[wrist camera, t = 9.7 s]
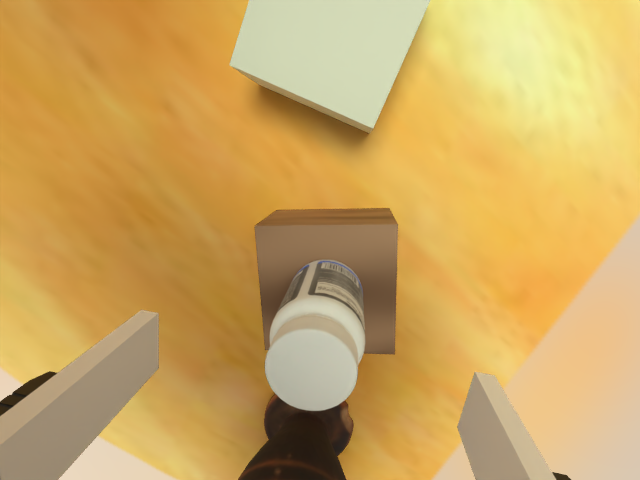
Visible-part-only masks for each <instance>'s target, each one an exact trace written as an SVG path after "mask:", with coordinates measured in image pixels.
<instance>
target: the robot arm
mask: <svg viewBox="0 0 640 480" xmlns="http://www.w3.org/2000/svg"><path fill="white" fill-rule="evenodd" d="M158 368H159V313H156V312H150V311H145V310H140V311H139V312H138V313H136V314H135V315H134V316H133V317H131V318H130V319H129V320H127V321H126V322H125V323H123V324H122V325H121V326H119V327H118V328H117V329H115V330H114V331H113V332H111V333H110V334H109V335H107V336H106V337H105V338H103V339H102V340H101V341H99V342H98V343H97V344H95V345H94V346H93V347H91V348H90V349H89V350H87V351H86V352H85V353H84V354H82V355H81V356H80V357H78V358H77V359H76V360H74V361H73V362H72V363H70V364H69V365H68V366H66V367H65V368H64V369H62V370H61V371H60V372H58V373H55V372H50V371H49V372H47V373H45V374H43V375H41V376H38V377H36V378H34V379H32V380H30V381H28V382H27V383H25V384H24V385H23V386H21V387H20V388H18V389H17V390H16V391H14V392H13V394H12V395H9V396H7V397H6V398H4V399H3V400H2V401H1V402H0V480H58V479H59V478H60V477H61V476H62V475H63V474H64V472H65V471H66V470H67V469H68V468H69V467H70V466H71V465H72V463H74V461H75V460H76V459H77V458H78V457H79V456H80V455H81V453H83V451H84V450H85V449H86V448H87V447H88V446H89V445H90V444H91V443H92V441H93V440H94V439H95V438H96V437H97V436H98V435H99V434H100V433H101V431H102V430H103V429H104V428H105V427H106V426H107V425H108V424H109V423H110V421H111V420H112V419H113V418H114V417H115V416H116V415H117V414H118V413H119V411H120V410H121V409H122V408H123V407H124V406H125V405H126V404H127V403H128V401H129V400H130V399H131V398H132V397H133V396H134V395H135V394H136V393H137V391H138V390H139V389H140V388H141V387H142V386H143V385H144V384H145V383H146V381H147V380H148V379H149V378H150V377H151V376H152V375H153V374H154V373H155V371H156V370H157V369H158ZM457 428H458V431H459V433H460V436H461V439H462V442H463V445H464V448H465V450H466V453H467V456H468V459H469V462H470V465H471V468H472V470H473V473H474V476H475V479H476V480H571V479H570V478H569V477H568V476H567V475H563V474H559V473H554V472H551V470H550V468H549V467H548V465H547V463H546V461H545V460H544V458H543V456H542V455H541V453H540V451H539V450H538V448H537V446H536V445H535V443H534V441H533V440H532V438H531V436H530V434H529V433H528V431H527V429H526V428H525V426H524V424H523V423H522V421H521V419H520V417H519V416H518V414H517V412H516V411H515V409H514V407H513V406H512V404H511V402H510V401H509V399H508V397H507V396H506V394H505V392H504V390H503V389H502V387H501V385H500V384H499V382H498V380H497V379H496V377H495V375H490V374H484V373H479V372H475V373H474V376H473V379H472V382H471V385H470V389H469V392H468V395H467V398H466V401H465V404H464V407H463V411H462V414H461V417H460V420H459V423H458V426H457Z"/></svg>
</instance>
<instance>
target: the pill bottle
mask: <svg viewBox="0 0 640 480" xmlns="http://www.w3.org/2000/svg"><path fill="white" fill-rule="evenodd" d="M365 343H366V340H365V323H364V303H363V290H362V286H361V283H360V280H359V279H358V277H357V275H356V274H355V273H354V272H353V270H352V269H350V268H349V267H348V266H346V265H345V264H343V263H341V262H338V261H335V260H317V261H313V262H311V263H309V264H307V265H305V266H304V267H302V268H301V269H300V270H299V271H298V273H297V274H296V275H295V277H294V278H293V280H292V282H291V285H290V287H289V289H288V291H287V293H286V295H285V297H284V299H283V301H282V303H281V305H280V307H279V309H278V311H277V313H276V315H275V317H274V319H273V322H272V325H271V329H270V347H269V350H268V352H267V355H266V360H265V373H266V377H267V380H268V383H269V385H270V387H271V388H272V390H273V391H274V392H275V394H276V395H277V396H278V397H279V398H280V399H282V400H283V401H284V402H286V403H287V404H289V405H291V406H294V407H296V408H299V409H303V410H309V411H321V410H326V409H330V408H333V407H335V406H337V405H339V404H340V403H342V402H343V401H344V400H345V399H346V398H347V397H348V396H349V395H350V394H351V393H352V391H353V389H354V387H355V385H356V381H357V376H358V364H359V362H360V361H361V359H362V356H363V353H364V349H365Z"/></svg>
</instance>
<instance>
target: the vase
mask: <svg viewBox="0 0 640 480" xmlns="http://www.w3.org/2000/svg"><path fill="white" fill-rule="evenodd" d="M264 426H265V430H266V434H267V436H268V439H269V441H268V442H267V443H265V445H264V446H263V447H262V448H261V449H260V450H259V452H258V453H257V454H256V455H255V456H254V458H253V459H252V460H251V461H250V462H249V464H248V465H247V467H246V468H245V470H244V471H243V473H242V474H241V476H240V477H239V479H238V480H346V478H345V475H344V472H343V470H342V467H341V465H340V462H339V460H338V457H337V455H339V454H340V453H341V452H342V451H343V450H344V449H345V447H346V446H347V444H348V443H349V441H350V438H351V435H352V431H353V420H352V419H351V418H350V417H349V413H348V404H347V403H346V402H345V401H343V402H342V403H340V404H339V405H337V406H335V407H333V408H330V409H326V410H321V411H309V410H303V409H299V408H296V407H294V406H291V405H289V404H287V403H286V402H284V401H283V400H282V399H280V398H279V397H278V396H277V395H276V394H275V395H274V396H273V397H272V398H271V400H270V401H269V403H268V405H267V408H266V411H265V418H264Z"/></svg>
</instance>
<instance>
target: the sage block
mask: <svg viewBox="0 0 640 480" xmlns="http://www.w3.org/2000/svg"><path fill="white" fill-rule="evenodd" d="M429 2H430V0H249V3H248V6H247V9H246V12H245V16H244V19H243V22H242V26H241V29H240V32H239V35H238V39H237V42H236V45H235V48H234V52H233V55H232V58H231V61H230V66H232V67H233V68H235V69H236V70H238V71H239V72H241V73H242V74H244V75H245V76H247V77H248V78H250V79H251V80H253V81H254V82H256V83H257V84H259V85H261V86H263V87H265V88H268V89H270V90H272V91H274V92H277V93H279V94H281V95H283V96H286V97H288V98H290V99H292V100H295V101H297V102H299V103H302V104H304V105H306V106H308V107H311V108H313V109H315V110H317V111H320V112H322V113H324V114H326V115H329V116H331V117H333V118H335V119H338V120H340V121H342V122H344V123H347V124H349V125H351V126H354V127H356V128H358V129H360V130H363V131H365V132H367V133H369V134H370V133H371V131H372V130H373V128H374V126H375V123H376V121H377V119H378V117H379V114H380V112H381V110H382V108H383V105H384V103H385V101H386V99H387V96H388V94H389V92H390V90H391V88H392V85H393V83H394V81H395V79H396V76H397V74H398V72H399V70H400V67H401V65H402V63H403V61H404V58H405V56H406V54H407V52H408V49H409V47H410V45H411V43H412V40H413V38H414V36H415V34H416V31H417V29H418V27H419V25H420V22H421V20H422V18H423V16H424V13H425V11H426V9H427V7H428V4H429Z"/></svg>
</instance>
